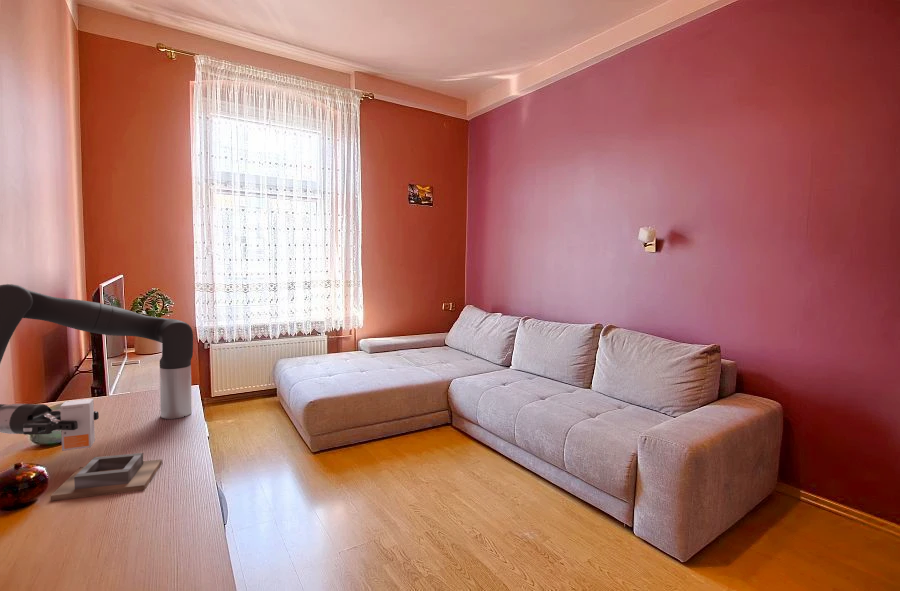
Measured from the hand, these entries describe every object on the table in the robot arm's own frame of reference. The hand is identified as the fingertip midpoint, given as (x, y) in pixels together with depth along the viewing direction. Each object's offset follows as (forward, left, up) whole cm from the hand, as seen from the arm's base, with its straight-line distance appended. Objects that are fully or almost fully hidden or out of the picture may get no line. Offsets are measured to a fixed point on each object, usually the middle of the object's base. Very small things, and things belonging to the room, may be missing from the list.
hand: (87, 420), depth 114 cm
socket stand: (+10, +9, -12) cm, 18 cm away
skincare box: (-1, -2, -7) cm, 8 cm away
